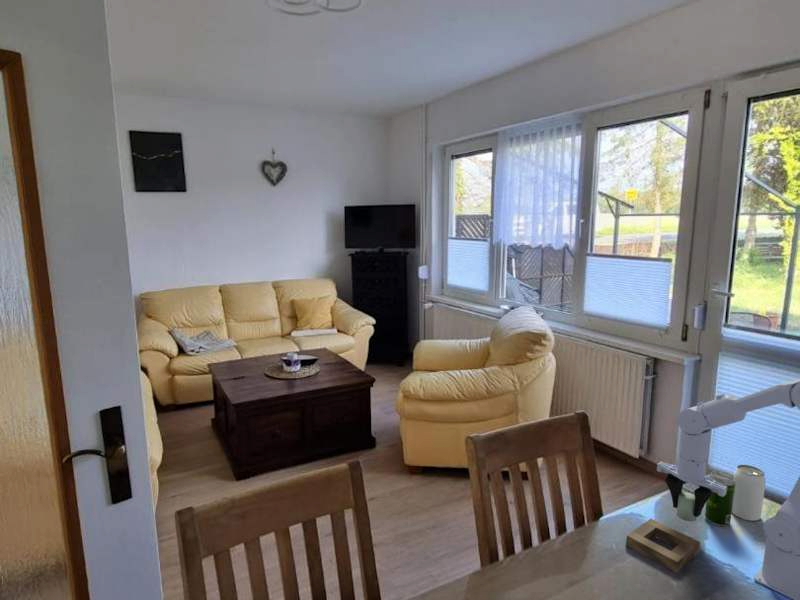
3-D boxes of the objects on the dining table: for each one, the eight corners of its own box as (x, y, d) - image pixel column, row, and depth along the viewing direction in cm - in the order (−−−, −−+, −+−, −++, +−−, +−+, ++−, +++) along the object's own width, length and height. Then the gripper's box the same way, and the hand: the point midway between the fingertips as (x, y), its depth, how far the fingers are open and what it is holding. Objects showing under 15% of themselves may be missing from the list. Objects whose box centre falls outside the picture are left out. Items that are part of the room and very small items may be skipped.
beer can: (733, 522, 122) (739, 476, 120) (725, 530, 119) (731, 484, 117) (709, 512, 126) (714, 468, 124) (700, 519, 123) (706, 474, 121)
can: (734, 519, 123) (740, 474, 122) (725, 505, 130) (731, 462, 128) (764, 524, 122) (771, 478, 120) (754, 509, 128) (760, 466, 126)
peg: (698, 517, 117) (701, 497, 116) (691, 523, 115) (693, 503, 114) (681, 509, 120) (683, 490, 120) (673, 515, 118) (675, 495, 117)
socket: (698, 552, 111) (700, 542, 110) (676, 572, 104) (677, 561, 104) (649, 527, 119) (650, 518, 119) (625, 545, 113) (626, 535, 112)
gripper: (734, 464, 112) (728, 519, 114) (668, 441, 123) (663, 492, 125) (722, 473, 108) (715, 530, 110) (654, 448, 119) (649, 501, 121)
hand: (686, 510), depth 117 cm, fingers closed on peg, 4 cm apart
